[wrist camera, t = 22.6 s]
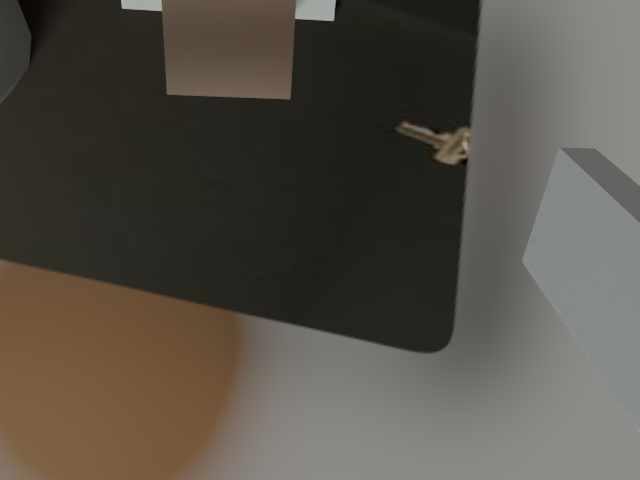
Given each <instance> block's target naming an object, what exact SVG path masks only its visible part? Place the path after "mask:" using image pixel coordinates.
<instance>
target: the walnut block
mask: <svg viewBox="0 0 640 480" xmlns="http://www.w3.org/2000/svg"><path fill="white" fill-rule="evenodd" d="M295 10H296V0H162V16H163V33H164V50H165V67H166V84H167V94H168V95H194V96H220V97H246V98H272V99H290V96H291V79H292V62H293V45H294V27H295Z"/></svg>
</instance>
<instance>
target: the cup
mask: <svg viewBox="0 0 640 480" xmlns="http://www.w3.org/2000/svg"><path fill="white" fill-rule="evenodd" d="M30 49H31V33H30V30H29V28H28V25H27V23H26V20H25V18H24V15H23V13H22V10H21V8H20V5H19V3H18V1H17V0H0V103H1V102H2V101H3V100H4V99H5V98H6V97H7V96H8V94H9V93H10V92H11V91H12V90H13V89H14V87H15V86H16V84H17V83H18V82H19V80H20V79H21V77H22V76H23V75H24V73H25V72H26V70H27V69H28V67H29V63H30Z"/></svg>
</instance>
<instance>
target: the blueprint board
mask: <svg viewBox="0 0 640 480" xmlns="http://www.w3.org/2000/svg"><path fill="white" fill-rule="evenodd" d="M121 3H122V9H138V10H155V11H162V0H121ZM335 3H336V0H296V10H295V19H309V20H326V21H334V13H335Z"/></svg>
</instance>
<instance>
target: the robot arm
mask: <svg viewBox="0 0 640 480" xmlns="http://www.w3.org/2000/svg"><path fill="white" fill-rule="evenodd" d="M522 262H523V264H524V265H525V267H526V268H527V270H528V271H529V272H530V274H531V275H532V277H533V278H534V279H535V281H536V283H537V284H538V286H539V287H540V289H541V290H542V291H543V293H544V294H545V295H546V297H547V299H548V300H549V302H550V303H551V304H552V306H553V307H554V309H555V310H556V312H557V313H558V315H559V316H560V317H561V319H562V320H563V322H564V324H565V325H566V326H567V328H568V329H569V331H570V332H571V333H572V335H573V337H574V338H575V339H576V341H577V342H578V344H579V345H580V347H581V348H582V350H583V351H584V353H585V354H586V355H587V357H588V358H589V360H590V361H591V363H592V364H593V366H594V367H595V369H596V370H597V371H598V373H599V374H600V376H601V377H602V379H603V380H604V382H605V383H606V385H607V386H608V388H609V389H610V390H611V392H612V393H613V395H614V396H615V398H616V399H617V401H618V402H619V404H620V405H621V407H622V408H623V409H624V411H625V412H626V414H627V415H628V417H629V418H630V420H631V421H632V423H633V424H634V425H635V427H636V428H637V430H638V431H639V433H640V186H639V185H638V184H636V183H635V182H634V181H633V180H632V179H631V178H629V177H628V176H627V175H626V174H624V173H623V172H622V171H621V170H620V169H619V168H618V167H616V166H615V165H614V164H613V163H612V162H610V161H609V160H608V159H607V158H606V157H605V156H603V155H602V154H601V153H600V152H599V151H597V150H596V149H587V148H586V149H585V148H559V151H558V154H557V157H556V160H555V163H554V166H553V169H552V172H551V175H550V178H549V181H548V184H547V187H546V190H545V194H544V196H543V200H542V202H541V205H540V208H539V211H538V215H537V218H536V221H535V224H534V227H533V230H532V233H531V236H530V239H529V242H528V245H527V248H526V251H525V254H524V257H523V260H522Z"/></svg>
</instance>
